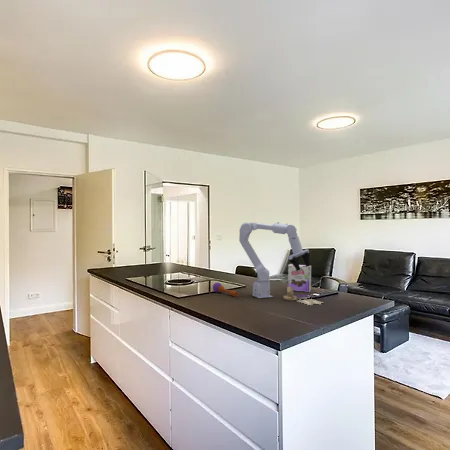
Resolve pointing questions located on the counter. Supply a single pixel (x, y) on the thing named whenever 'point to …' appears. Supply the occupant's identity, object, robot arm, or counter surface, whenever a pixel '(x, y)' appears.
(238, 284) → the counter surface
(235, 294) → the maraca
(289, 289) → the stamp
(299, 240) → the robot arm
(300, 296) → the ink pad
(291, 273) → the candy box
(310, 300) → the board
